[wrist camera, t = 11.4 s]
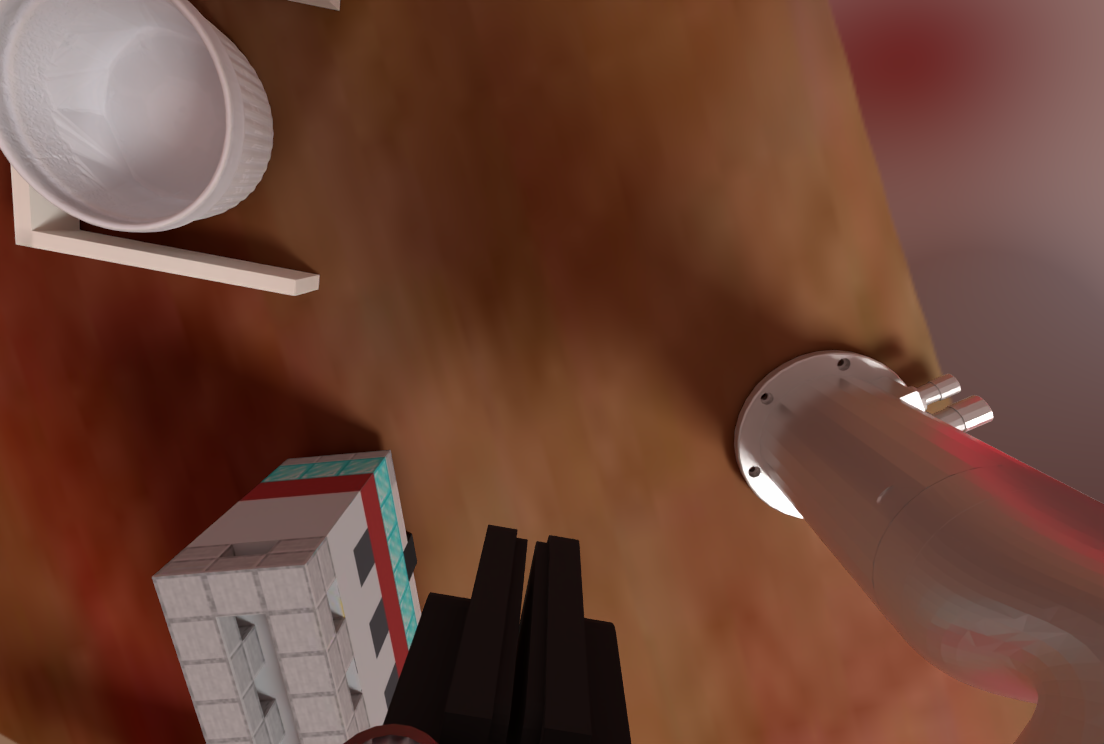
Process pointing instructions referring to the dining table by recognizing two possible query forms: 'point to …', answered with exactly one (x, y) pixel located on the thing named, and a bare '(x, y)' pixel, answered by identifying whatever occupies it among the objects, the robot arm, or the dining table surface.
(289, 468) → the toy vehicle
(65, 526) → the dining table surface
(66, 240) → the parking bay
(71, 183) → the ramekin
